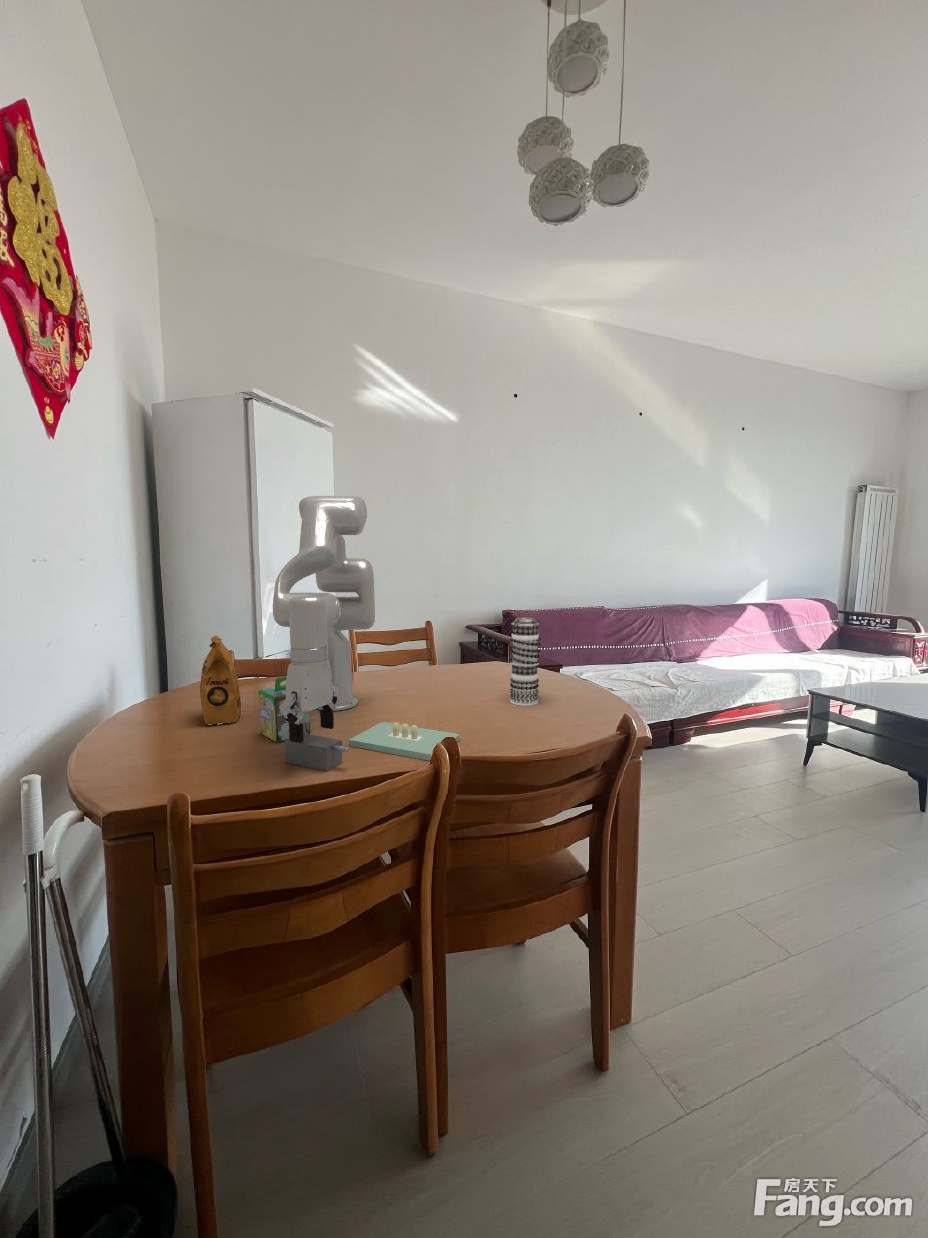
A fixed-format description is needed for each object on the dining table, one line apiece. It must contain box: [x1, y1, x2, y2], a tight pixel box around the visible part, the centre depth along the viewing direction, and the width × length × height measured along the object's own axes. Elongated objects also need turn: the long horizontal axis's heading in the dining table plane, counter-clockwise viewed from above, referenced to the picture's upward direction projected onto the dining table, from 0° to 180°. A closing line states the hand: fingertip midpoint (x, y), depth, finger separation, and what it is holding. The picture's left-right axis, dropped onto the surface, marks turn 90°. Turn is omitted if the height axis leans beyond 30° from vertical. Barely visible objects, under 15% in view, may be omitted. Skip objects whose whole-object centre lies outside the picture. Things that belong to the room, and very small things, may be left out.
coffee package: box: [199, 635, 242, 725], centre depth 144 cm, size 10×12×22 cm
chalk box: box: [257, 675, 311, 744], centre depth 132 cm, size 9×9×15 cm
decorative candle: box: [509, 617, 542, 707], centre depth 159 cm, size 9×9×25 cm
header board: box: [348, 721, 461, 762], centre depth 127 cm, size 22×14×4 cm, turn 66°
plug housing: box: [284, 733, 349, 772], centre depth 115 cm, size 14×5×5 cm, turn 66°
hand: (312, 734), depth 115 cm, fingers open, 9 cm apart
